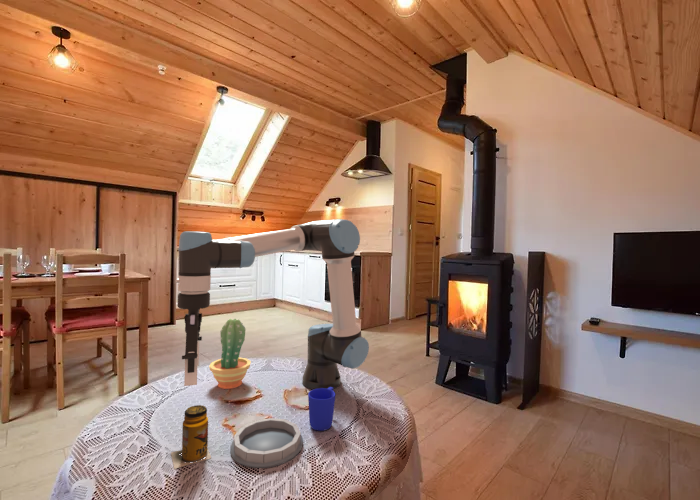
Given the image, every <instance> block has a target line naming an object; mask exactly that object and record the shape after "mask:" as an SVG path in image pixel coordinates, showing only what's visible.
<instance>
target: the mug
mask: <svg viewBox="0 0 700 500" xmlns="http://www.w3.org/2000/svg"><path fill="white" fill-rule="evenodd" d="M307 396H308V397H307V398H308V400H307V401H308V417H309V418H308V419H309V426H310V428H311V429H313V430H314V431H319V432H323V431H326V430H329V429H330V428H331V427H332V425H333V422H334V421H333V420H334V411H335V403H336V392H335V390H334V388H333V387H329V388H327V389H326V388H318V389H311V390H309V392H308V394H307Z"/></svg>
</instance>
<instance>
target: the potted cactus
mask: <svg viewBox="0 0 700 500" xmlns="http://www.w3.org/2000/svg"><path fill="white" fill-rule="evenodd" d="M246 330H247V329H246V327H245V325H244V324H243V322H241V320H240V319H237V318H233V319H231V318H230V319H227V321H226V322H225V323H224V325H223V326H222V327H221V330H220V334H219V335H220V344H221V355H220V356H221V357H220V359H216V360H214V361H212V362H210V364H209V366H208V367H209V370H210V372H211V373H212V375H213V376H212V377H213V378H214V379H215V381H216V382H217V387H218V388H219V389H225V390H226V389H234V388H238V387H240V386H241V385H242V384H243V381H244V378H245V377H246V374H247V371H248V370H249V369H250V366H251V362H252V361H251V360H250V359H248V358H246V357H245V358H244V357H240V353H241V350H242V346H243V344H244V342H245V337H246Z"/></svg>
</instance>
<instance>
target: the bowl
mask: <svg viewBox="0 0 700 500" xmlns="http://www.w3.org/2000/svg"><path fill="white" fill-rule="evenodd" d="M303 440H304V439H303V436H302V434H301V431H300V429H299V427H298V425H297V424H296V423H294V422H292V421H290V420H287V419H286V418H285V419H283V418H272V417H269V418H263V419H258V420H257V419H256V420H253V421H252V422H249V423H246V424H245V425H242V426H241V427H240V428H239V429H238V431H237V432H236V433H235V434H234V435H233V441H232V442H231V445H230V455H231V458H232V459H233V461H235V462H236V463H237V464H239V465H241V466H243V467H247V468H251V469H252V468H253V469H267V468H272V467H278V466H281V465H283V464H285V463H288V462H290V461H291V460H293V459H294V458H296V457H297V456H298V455H299V454H300V453H301V450H302V449H303V446H304V445H303V442H304V441H303Z"/></svg>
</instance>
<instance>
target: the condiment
mask: <svg viewBox="0 0 700 500" xmlns="http://www.w3.org/2000/svg"><path fill="white" fill-rule="evenodd" d="M207 415H208V409H207V407H206V406H205V405H201V404H197V405H192V406H189V407H188V408H186V409H185V411H184V417H183V419H184V420H183V422H182V430H181V431H182V438H181V439H182V441H181V449H180V450H174V451H172V452H170V455H171V459H172V464H173V469H174V470H176V469H179V468H182V467H185V466H189V465H192V464H193V465H194V464H196V463H201V462H203V461H206V460H210V459H211V458H212V456H211V453H210V450H209V449H208V445H209V417H208V416H207ZM181 453H182V454H181ZM179 454H181V455H182V456H181V455H179ZM204 457H206V458H205V459H203V458H204ZM201 459H202V460H201ZM196 461H197V462H196ZM184 462H186V463H184ZM190 462H193V463H190Z"/></svg>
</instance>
